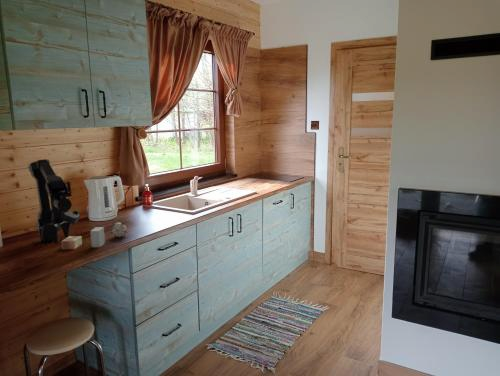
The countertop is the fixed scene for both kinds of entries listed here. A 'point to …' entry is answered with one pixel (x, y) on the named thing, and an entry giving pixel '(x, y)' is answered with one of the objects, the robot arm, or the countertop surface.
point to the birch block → (71, 242)
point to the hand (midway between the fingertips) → (61, 240)
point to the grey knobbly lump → (119, 229)
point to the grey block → (97, 236)
